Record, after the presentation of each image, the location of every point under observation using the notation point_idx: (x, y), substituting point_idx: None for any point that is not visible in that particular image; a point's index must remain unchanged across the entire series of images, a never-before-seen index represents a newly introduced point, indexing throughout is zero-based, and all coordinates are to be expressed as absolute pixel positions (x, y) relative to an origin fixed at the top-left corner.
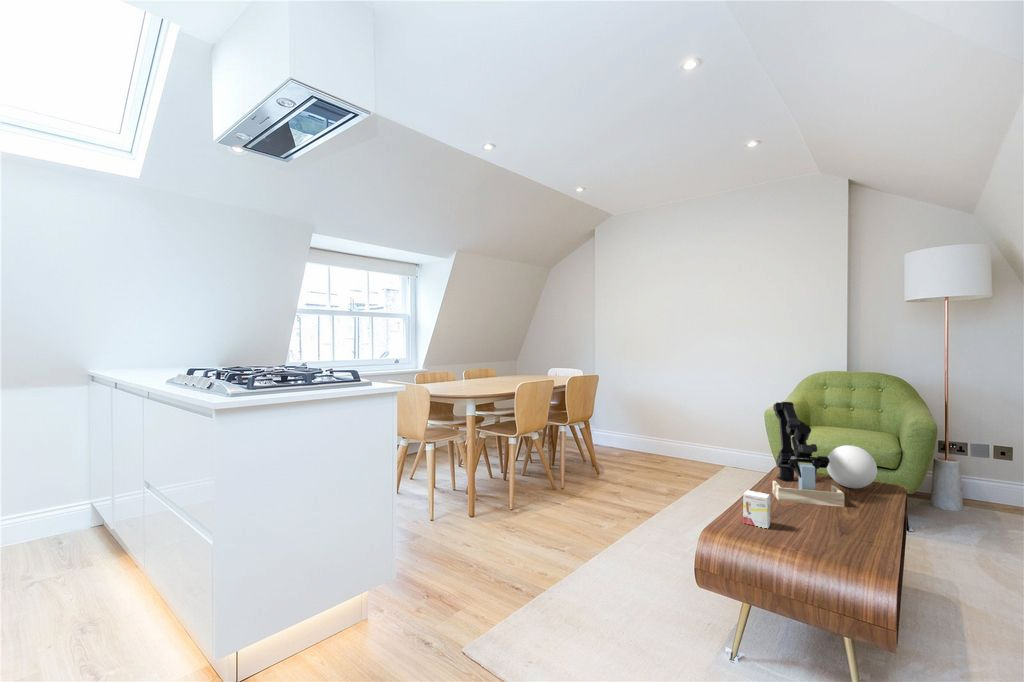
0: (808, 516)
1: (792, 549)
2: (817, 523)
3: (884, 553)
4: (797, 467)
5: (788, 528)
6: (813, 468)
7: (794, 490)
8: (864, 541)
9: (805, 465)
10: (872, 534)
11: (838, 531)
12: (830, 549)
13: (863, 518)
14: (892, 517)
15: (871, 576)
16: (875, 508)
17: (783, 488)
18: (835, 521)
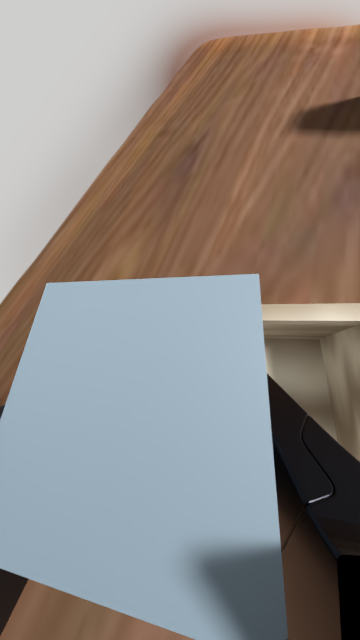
0: (243, 212)
1: (320, 47)
2: (233, 174)
3: (163, 104)
4: (307, 438)
5: (316, 119)
6: (82, 289)
7: (279, 306)
8: (171, 130)
9: (147, 400)
10: (137, 165)
11: (200, 151)
12: (248, 77)
13: (99, 251)
14: (24, 283)
15: (219, 42)
16: (10, 351)
17: (351, 303)
18: (181, 204)
